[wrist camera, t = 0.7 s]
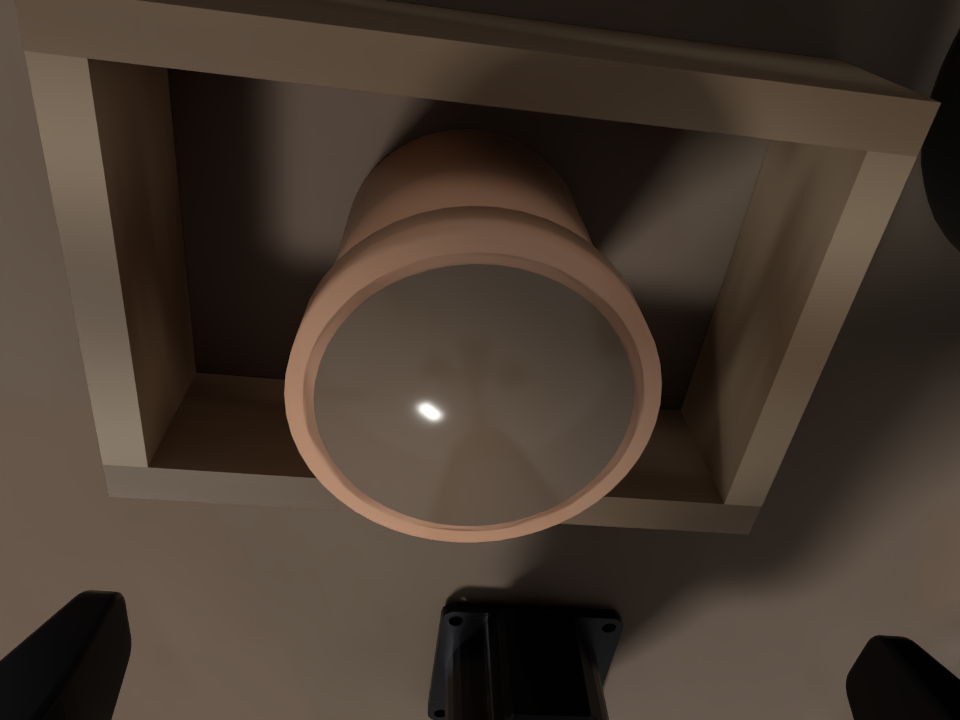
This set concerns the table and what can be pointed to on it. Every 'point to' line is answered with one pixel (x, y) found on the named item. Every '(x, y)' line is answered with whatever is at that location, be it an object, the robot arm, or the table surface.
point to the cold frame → (473, 80)
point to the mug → (945, 149)
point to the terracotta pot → (470, 349)
